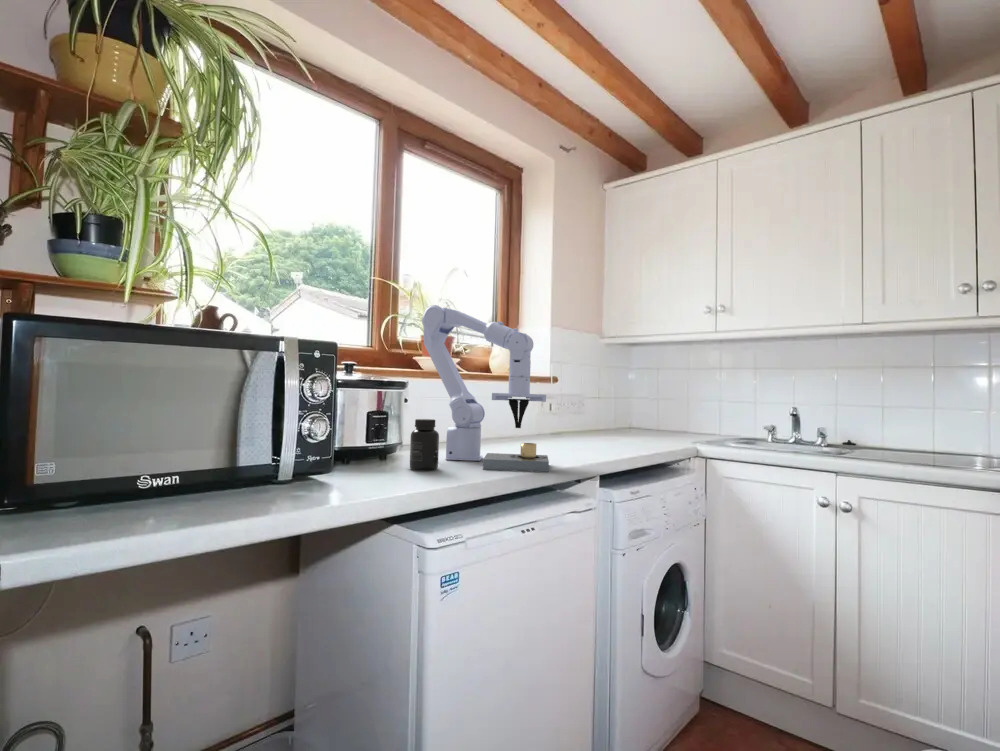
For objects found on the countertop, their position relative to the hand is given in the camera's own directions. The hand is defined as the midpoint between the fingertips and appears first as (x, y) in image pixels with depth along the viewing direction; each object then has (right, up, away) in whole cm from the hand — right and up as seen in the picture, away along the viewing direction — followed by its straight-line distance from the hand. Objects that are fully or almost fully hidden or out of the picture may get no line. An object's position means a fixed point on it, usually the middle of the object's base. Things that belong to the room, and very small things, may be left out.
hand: (518, 427), depth 141 cm
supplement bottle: (-23, -9, -15) cm, 29 cm away
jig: (-1, -9, -7) cm, 12 cm away
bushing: (+2, -9, -7) cm, 12 cm away
